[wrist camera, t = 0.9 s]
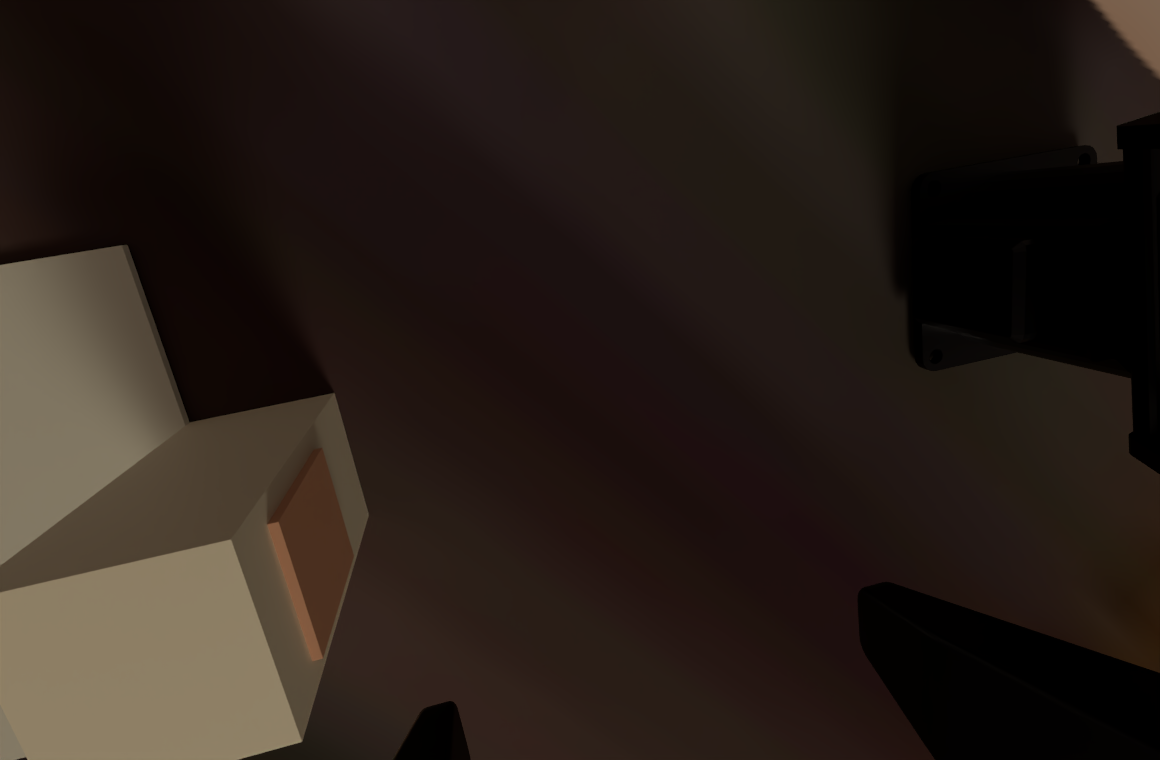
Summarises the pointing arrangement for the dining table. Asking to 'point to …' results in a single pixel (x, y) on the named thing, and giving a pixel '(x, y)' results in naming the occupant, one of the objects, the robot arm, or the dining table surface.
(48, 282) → the mat
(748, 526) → the dining table surface
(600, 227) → the dining table surface
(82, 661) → the block
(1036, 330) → the robot arm
